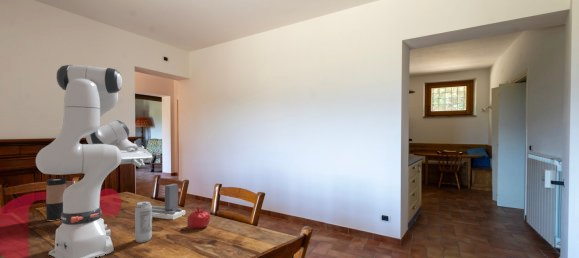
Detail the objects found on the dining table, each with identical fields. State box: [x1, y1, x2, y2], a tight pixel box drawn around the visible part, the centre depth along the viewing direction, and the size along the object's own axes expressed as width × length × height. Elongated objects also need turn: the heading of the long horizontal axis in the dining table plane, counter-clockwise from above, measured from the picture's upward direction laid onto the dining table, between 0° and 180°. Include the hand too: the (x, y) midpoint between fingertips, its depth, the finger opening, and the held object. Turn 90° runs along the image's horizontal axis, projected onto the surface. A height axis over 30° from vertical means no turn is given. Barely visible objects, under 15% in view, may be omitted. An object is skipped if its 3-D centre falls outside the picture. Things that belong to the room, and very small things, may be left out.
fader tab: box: [164, 183, 179, 212], centre depth 141 cm, size 5×6×14 cm
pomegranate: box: [186, 206, 211, 230], centre depth 125 cm, size 10×10×9 cm
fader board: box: [152, 205, 186, 220], centre depth 142 cm, size 21×9×3 cm, turn 72°
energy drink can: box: [134, 200, 153, 244], centre depth 109 cm, size 6×6×15 cm
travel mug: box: [45, 177, 67, 221], centre depth 135 cm, size 8×8×20 cm
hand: (141, 166), depth 141 cm, fingers closed
